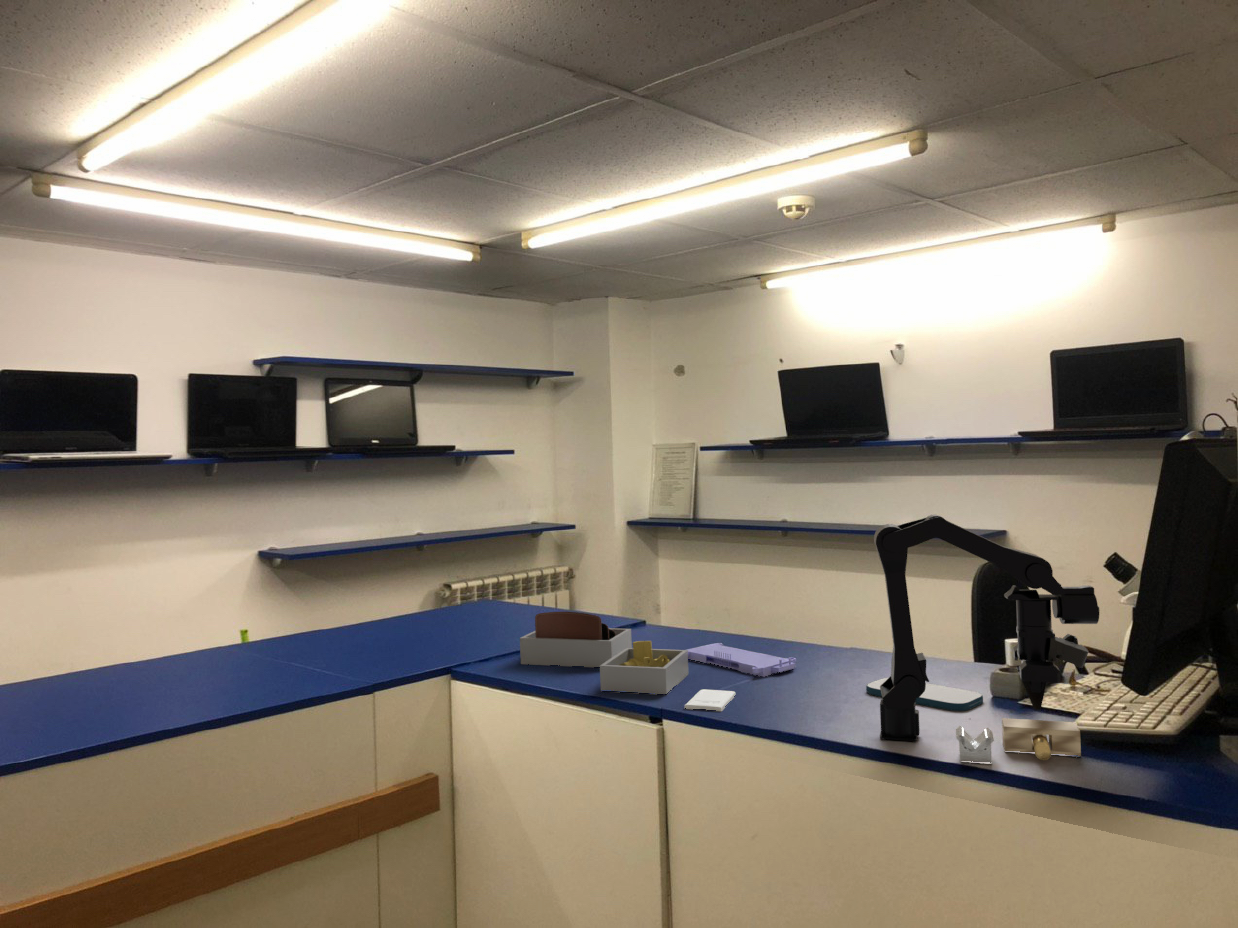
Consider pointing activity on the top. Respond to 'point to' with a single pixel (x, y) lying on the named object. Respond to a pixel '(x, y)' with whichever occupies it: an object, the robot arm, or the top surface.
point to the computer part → (741, 659)
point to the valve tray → (644, 672)
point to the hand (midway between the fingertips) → (1037, 709)
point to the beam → (1060, 734)
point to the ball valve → (645, 656)
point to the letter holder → (571, 626)
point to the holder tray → (572, 650)
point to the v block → (975, 745)
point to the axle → (1041, 746)
